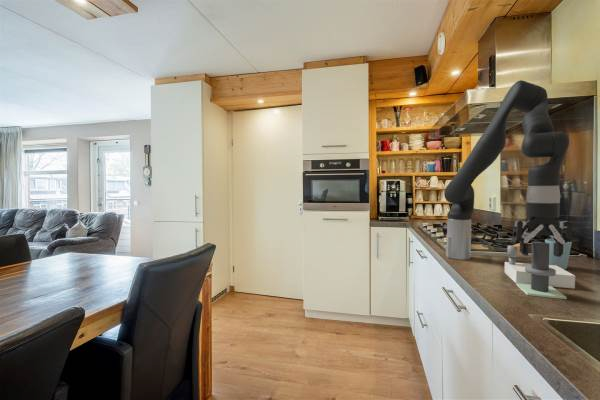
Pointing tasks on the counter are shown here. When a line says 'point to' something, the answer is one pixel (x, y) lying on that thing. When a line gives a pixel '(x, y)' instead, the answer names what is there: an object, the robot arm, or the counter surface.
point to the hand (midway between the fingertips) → (540, 255)
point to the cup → (564, 258)
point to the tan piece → (513, 250)
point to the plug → (540, 267)
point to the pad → (551, 292)
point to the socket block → (522, 277)
